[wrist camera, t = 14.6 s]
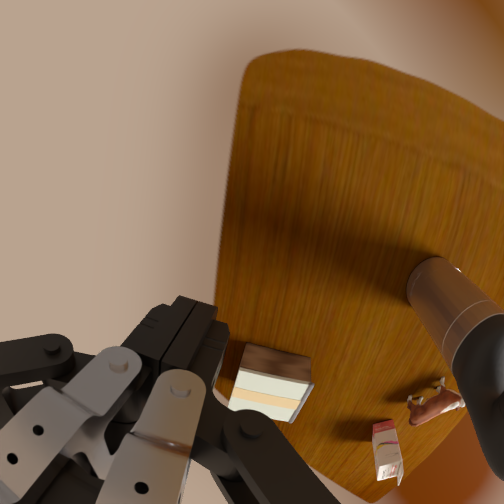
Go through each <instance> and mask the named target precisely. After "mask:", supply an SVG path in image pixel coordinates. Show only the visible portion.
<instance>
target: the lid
mask: <svg viewBox="0 0 504 504" xmlns="http://www.w3.org/2000/svg"><path fill="white" fill-rule="evenodd" d="M313 387H314V384H313V383H311V382H307V381H301V380H296V379H291V378H286V377H281V376H276V375H271V374H267V373H262V372H258V371H254V370H250V369H245V368H241V367H240V369H239V372H238V375H237V378H236V382H235V385H234V388H233V392H232V395H231V398H230V401H229V405H228V408H229V409H231V410H233V411H237V410H242V409H251V410H256V411H259V412H261V413H264V414H265V415H267V416H268V417H269V418H270V419H276V420H281V421H287V422H289V423H293V421H294V419H295V418H296V416H297V415H298V413H299V411H300V409H301V408H302V406H303V404H304V403H305V401H306V399H307V397H308V396H309V394H310V392H311V390H312V388H313Z"/></svg>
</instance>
